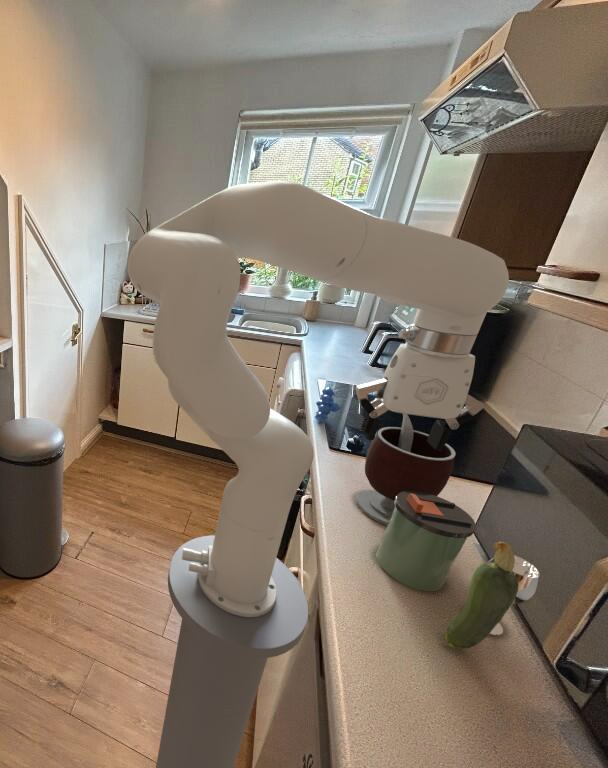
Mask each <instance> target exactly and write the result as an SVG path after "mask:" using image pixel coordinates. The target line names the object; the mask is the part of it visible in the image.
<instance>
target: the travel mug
mask: <svg viewBox="0 0 608 768" xmlns="http://www.w3.org/2000/svg"><path fill="white" fill-rule="evenodd" d="M410 493H411V494H416V496H417V497H418V498H419V500H422V501H428V502H433V503H434V504H435V505H436V506H437V508H438V509H439V510H440V511H441V513H442V514H443V515H444V517H442V516H437V515H431V514H425V513H421V514H419V513H416V512H415V511H414V509H413V508H412V507H411V505H410V504H409V503H408V501H407V498H409V495H410ZM394 504H395V508H394V511H393V513H392V516H391V518H390V521H389V523H388V525H386V527H385V530H384V533H383V535H382V537H381V538H382V539H381V540H380V543H379V545H378V548H377V551H376V553H375V557H376V560H377V561H376V562H377V563H378V564H379V566H380V567H381V568H382V570H384V572H385V573H387V574H388V576H390V577H392V578H393V579H394V580H396V581H397V582H399V583H401V584H403V585H405V586H407V587H410V588H412V589H415V590H419V591H423V592H436V591H439V590H440V589H442V587H443V586H444V585H445V582H446V580H447V578H448V576H449V574H450V573H451V571H452V568H453V566H454V564H455V562H456V561H457V559H458V556H459V555H460V553H461V550H462V548H463V547H464V544H465V543H466V541H467V539H468V538H469V537H471V536H473V534H474V533H475V531H476V529H477V524H476V522H475V520H474V519H473V517H472V516H471V515H470V514H469V513H468V512H467V511H466V510H464V509H463V508H461V507H460V506H458V505H457V504H456V503H455V502H451V501H449V500H447V499H445V498H443V497H440V496H439V495H438V496H435V495H432V494H428V493H424V492H419V491H403V492H400V493H398V494H397V496H396V498H395V501H394Z"/></svg>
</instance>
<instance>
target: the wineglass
mask: <svg viewBox="0 0 608 768" xmlns="http://www.w3.org/2000/svg"><path fill="white" fill-rule="evenodd" d="M514 557H515V564H514V568H513V571H512V572H513V573H514V575H515V577H516V579H517V581H518V592H517V595H516V597H515V599H514V601H513V602H512V604H511V605H513V606H514V605H515V606H518V605H525V604H527V603H529V602H530V601H531V600H532V599H534V597H535V595H536V593H537V591H538V588H539V582H540V575H541V574H540V571H539V569H538V568H537V567H535V565H533V564H532V563H531V562H529V561H527V560H526V559H524V558H522V557H520V556H518V555H515V554H514ZM487 563H495V560H494V556H492V558H490V559H489V560H488V561H487ZM503 634H504V628H503V626H502V625H501V623H500V622H499V623H498V624H497V625H496V626H495V627H494V629H493V630H492V631H491V632H490V634H489V635H492V636H501V635H503Z"/></svg>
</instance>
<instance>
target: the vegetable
mask: <svg viewBox="0 0 608 768" xmlns="http://www.w3.org/2000/svg"><path fill="white" fill-rule="evenodd" d="M493 551H494V552H495V553H494V555H493V557H494V560H495V563H488V562H484V563H482V564H479V565H478V566H476V568H475V570H474V571H473V573H472V576H471V579H470V583H469V587H468V592H467V600H466V603H465V605H464V607H463V609H461V611H460V612H459V613H458V614H457V615H455V617H454V618H453V620H452V621H451V622H450V623H449V624H448V625H447V627H446V629H445V632H444V637H445V641H446V642H447V646H448V647H449V648H451V649H452V648H454V649H462V650H469V649H471V648H474V647H475V646H478V644H480V643H481V642H483V641H484V640H485V639H486V638H487V637H489V635H491V634H490V632H491V631H492V630H493V629H494V627H495V626H496V625H497V624H498V623H500V622H501V620H502V619H503V617H504V616H505V614H506V613H507V612H508V611H509V609H510V607H511V606H512V605H513V604H512V602H513V601H514V599H515V597H516V595H517V592H518V581H517V579H516V577H515V575H514V573H513V572H512V571H513V568H514V564H515V557H514V555H515V552H514V551H513V547H512V546H511V545H510V544H508V543H507V542H505V541H497V542H495V543H493Z"/></svg>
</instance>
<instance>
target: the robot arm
mask: <svg viewBox="0 0 608 768" xmlns="http://www.w3.org/2000/svg"><path fill="white" fill-rule="evenodd" d="M238 258H244V259H248V260H253V261H258V262H261V263H265V264H267V265H271V266H274V267H277V268H280V269H283V270H286V271H289V272H292V273H295V274H299V275H301V276H304V277H307V278H310V279H313V280H315V281H319V282H322V283H325V284H327V285H331V286H334V287H338V288H343V289H346V290H350V291H354V292H358V293H365V294H371V295H376V296H377V297H378V298H380V299H381V300H383V301H384V302H388V303H390V304H393V305H398V306H403V307H407V308H412V309H417V311H416V314H415V315H414V318H413V322H412V324H410V325H409V328H407V329H400V330H399V332H398V338H399V339H403V340H404V341H405V343H400V344H399V346H398V348H397V349H396V351H395V352H394V353H393V356H392V357H391V359H390V361H389V362H388V365H387V367H386V368H385V371H384V373H383V375H382V377H381V379H377V380H374V381H370V382H366V383H363V384H359V385H356V386H355V388H354V390H355V394H356V397H357V401H358V403H359V404H360V406H361V407H362V408H363V410H364V411H365V414H364V418H363V421H362V424H361V427H360V430H361V432H362V435H364V437H365V438H366V439H367V441H370V442H372V441H373V440H374V438H375V436H376V435H377V433H378V431H379V430H378V429H379V426H380V424H381V419H380V416H381V415H383V414H385V413H386V412H388V411H391V412H394V413H398V414H403V413H404V414H408V415H411V416H417V417H418V416H419V417H427V418H434V419H436V420H435V421H434V423H433V424H432V427H431V430H430V432H429V434H428V435H429V437H428V439H427V442H428V443H429V444H430V445H431V446H432V447H433V448H434V449H435V450H437V451H442V449H443V446H444V444H447V443H448V441H449V439H450V436H451V434H452V432H453V430H457V429H458V428H460V425H463V424H464V423H467V422H469V421H471V420H472V419H473V416H475V415H477V414H478V413H480V411H482V410H483V409H484V408H485V404H484V403H482V402H481V401H480V400H478V399H476V398H475V397H473V396H472V395H470V394H469V391H470V387H471V384H472V380H473V377H474V371H475V370H474V369H475V363H476V355H474V354H472V353H471V351H472V349H473V346H474V344H475V341H476V339H477V337H478V334H479V332H480V330H481V327H482V325H483V322H484V320H485V317H486V315H487V313H488V312H489V311H490V310H492V309H493V308H494V307H496V306H497V305H498V304H499V302H500V301H501V300H502V299H503V298H504V296H505V295H506V292H507V290H508V286H509V282H510V281H509V280H510V274H509V270H508V266H507V265H506V262H505V260H504V259H503V258H502V257H500V256H498V254H495V253H494V252H491V251H489V250H487V249H485V248H482V247H481V246H478V245H476V244H474V243H471V242H469V241H466V240H463V239H460V238H456V237H453V236H450V235H445V234H442V233H439V232H433V231H430V230H426V229H422V228H419V227H415V226H411V225H409V224H407V223H406V224H405V223H402V222H398V221H395V220H391V219H387V218H383V217H378V216H376V215H373V214H370V213H367V212H366V211H364V210H361V209H358V208H357V207H354V206H351V205H349V204H347V203H346V202H342V201H340V200H338V199H336V198H333V197H331V196H329V195H327V194H325V193H323V192H320V191H318V190H315V189H313V188H311V187H309V186H306V185H304V184H302V183H299V182H295V181H290V180H270V181H261V182H260V181H259V182H251V183H240V184H235V185H232V186H229V187H227V188H224V189H223V190H220V191H219V192H217V193H215V194H213V195H211V196H208V198H205V199H204V200H201V201H200V202H199V203H196V204H195V205H193V206H192V207H190V208H188V209H186V210H184V211H183V212H181V213H179V214H177V215H176V216H173V217H172V218H170V219H168V220H165V222H163V223H161V224H159V225H157V226H156V227H153V228H152V229H151V230H149V231H147V232H146V233H145V234H143V235H142V236H141V237H140V238H139V239H138V240H137V241H136V243H135V244H134V245H133V247H132V250H131V251H130V252H129V256H128V260H127V274H128V277H129V280H130V282H131V284H132V286H133V288H134V289H136V291H137V292H138V293H139V294H140V295H142V296H144V297H145V298H147V299H149V300H151V301H153V302H156V303H158V304H159V308H158V311H157V314H156V317H155V320H154V321H155V322H154V326H153V334H152V354H153V358H154V360H155V362H156V364H157V366H158V368H159V370H160V371H161V372H162V374H163V375H164V377H166V379H167V385H168V386H167V387H168V390H169V392H170V395H171V397H172V398H173V400H174V402H175V403H176V404H177V405H178V407H180V408H181V409H182V411H184V413H186V414H187V416H188V417H189V418H190V419H191V420H192V421H193V422H194V423H195V425H197V427H199V428H200V429H201V431H202V432H203V433H204V434H205V435H206V436H207V437H208V438H209V439H210V440H211V441H212V442H213V443H214V444H215V445H216V446H218V447H219V449H220V450H222V451H223V452H224V453H225V454H226V455H227V456H228V457H229V458H230V459H231V460H232V462H234V463H235V464H236V466H237V469H238V472H237V474H236V475H235V476H233V477H232V478H231V479H230V480H229V481H227V483H226V485H225V487H224V489H223V493H222V497H221V502H220V508H219V513H218V518H217V523H216V528H215V533H214V535H215V538H214V543H213V546H210V545H209V547H208V551H203V550H202V553H201V552H197V551H194V550H191V549H186V548H183V554H182V560H186V561H191V562H192V561H194V562H198V563H200V565H198V564H196V563H191V562H189V571H192V572H198V580H199V584H200V586H201V588H202V590H203V592H204V593H205V595H206V596H207V597H208V598H209V599H210V600H211V601H212V602H213V603H214V604H215V605H217V606H218V607H219V608H221V609H223V610H225V611H226V612H229V613H231V614H234V615H237V616H242V617H258V616H261V615H264V614H266V613H268V612H269V611H270V610H271V609H272V608H273V606H274V604H275V601H276V597H277V588H276V584H275V582H274V580H273V578H272V577H271V575H272V571H273V568H274V564H275V560H276V558H278V557H277V556H278V553H279V549H280V546H281V543H282V538H283V535H284V533H285V532H284V531H285V528H286V525H287V522H288V519H289V514H290V511H291V507H292V504H293V502H294V499H295V496H296V494H297V492H298V490H299V487H300V486H301V484H302V482H303V481H304V479H305V477H306V475H307V473H308V472H309V470H310V468H311V466H312V464H313V461H314V456H315V452H314V446H313V443H312V441H311V439H310V438H309V436H308V435H307V434H306V432H304V431H303V430H302V429H301V427H299V426H298V425H297V424H296V423H294V422H293V421H291V420H290V419H289V418H287V417H286V416H284V415H282V414H281V413H279V412H278V411H276V410H275V409H274V408H271V403H270V399H269V395H268V393H267V391H266V389H265V387H264V385H263V384H262V383H261V381H260V380H259V379H258V377H257V376H256V375H255V374H254V373H253V371H252V370H251V368H249V366H248V365H247V363H246V362H245V361H244V359H243V358H242V357H241V355H240V354H239V353H238V351H237V350H236V348H235V347H234V345H233V343H232V342H231V341H230V338H229V337H228V332H227V327H228V321H229V318H230V315H231V312H232V308H233V307H234V304H235V301H236V299H237V296H238V293H239V289H240V285H241V267H240V262H239V259H238ZM375 392H376V395H375V396H376V398H375V399H374V400H372V401H370V399H369V394H371V393H375Z"/></svg>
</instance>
